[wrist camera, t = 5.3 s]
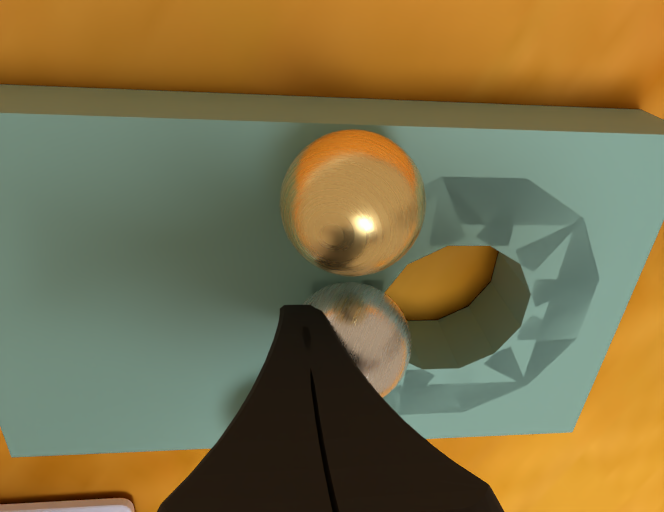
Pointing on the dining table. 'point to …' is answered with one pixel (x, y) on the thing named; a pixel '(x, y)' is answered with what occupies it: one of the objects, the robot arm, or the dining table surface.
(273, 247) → the bearing plate
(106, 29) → the dining table surface
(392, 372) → the steel ball
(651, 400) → the dining table surface
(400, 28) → the dining table surface
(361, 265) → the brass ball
